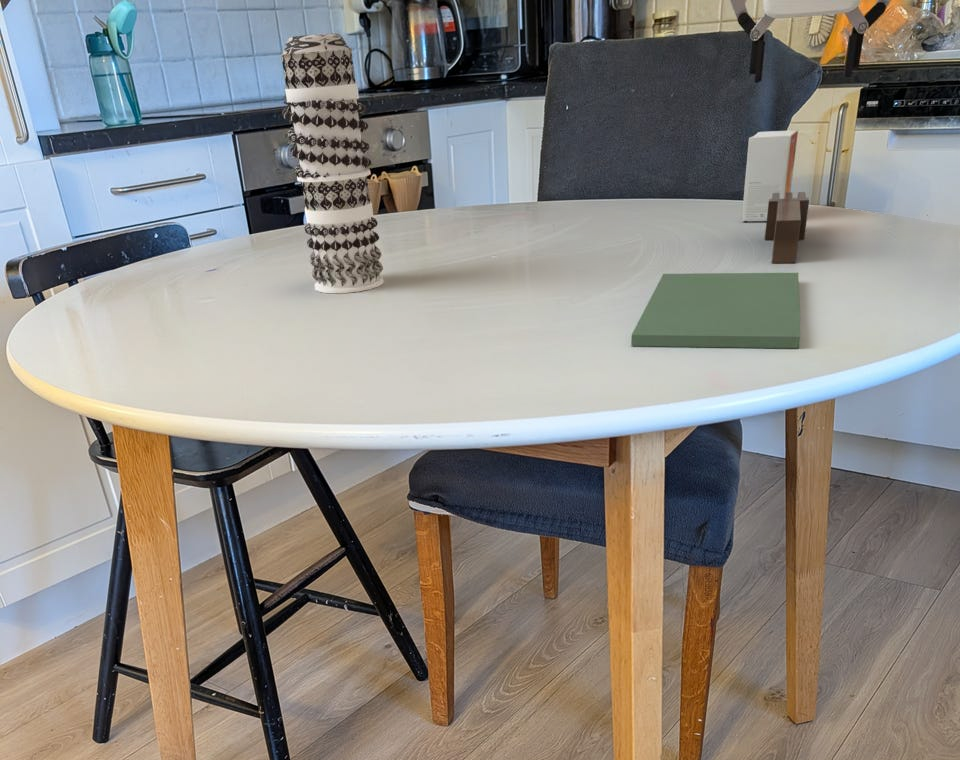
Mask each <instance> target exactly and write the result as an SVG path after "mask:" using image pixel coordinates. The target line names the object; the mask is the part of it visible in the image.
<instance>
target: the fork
mask: <svg viewBox="0 0 960 760" xmlns="http://www.w3.org/2000/svg"><path fill="white" fill-rule="evenodd" d="M793 194H794V193H793V191H791V192H787V193H785V199H779V196H780V193H772V199H769V203H768V213H767V221H765V222H766V223H765V232H764V241H772V255H771V264H796V261H797V254H798V246H799V240H805V236H806V228H807V221H808V213H809V205H810V198H809V197H807V195H806V194H807V193H806V191H799V192H797V197H793Z"/></svg>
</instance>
